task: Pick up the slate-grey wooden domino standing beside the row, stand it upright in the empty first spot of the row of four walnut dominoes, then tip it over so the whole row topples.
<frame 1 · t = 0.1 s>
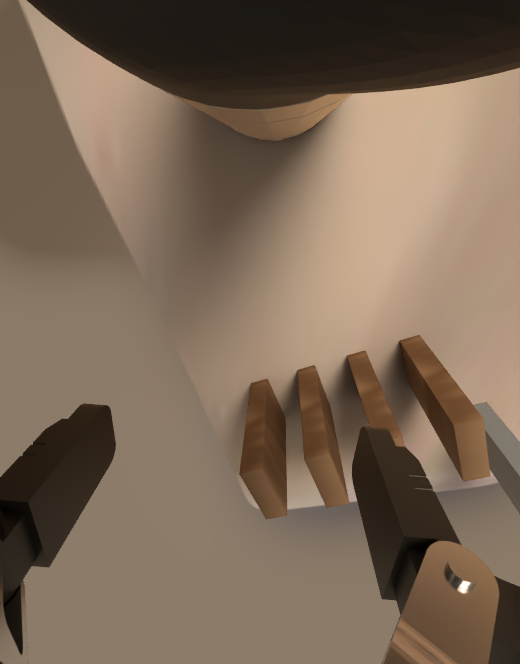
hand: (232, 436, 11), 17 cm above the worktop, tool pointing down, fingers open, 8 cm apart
domino 4: (314, 389, 31), on the worktop
domino 5: (268, 401, 32), on the worktop
domino 3: (362, 375, 30), on the worktop
domino 2: (414, 361, 29), on the worktop
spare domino: (479, 423, 32), on the worktop
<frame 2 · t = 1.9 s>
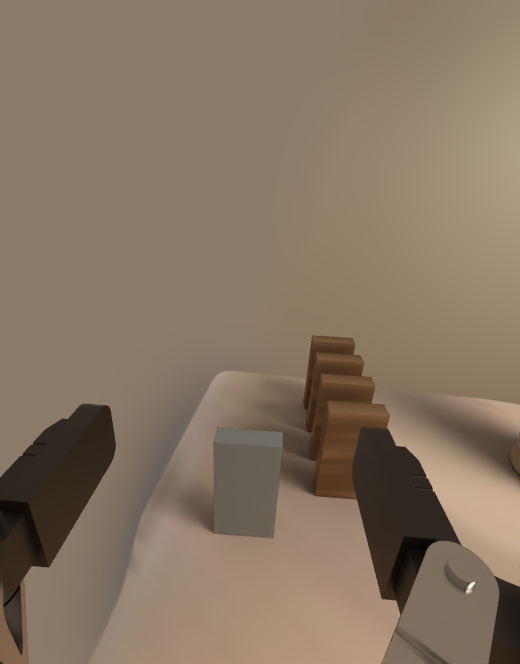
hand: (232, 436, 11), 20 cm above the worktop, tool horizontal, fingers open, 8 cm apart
domino 4: (327, 428, 41), on the worktop
domino 5: (322, 406, 45), on the worktop
domino 3: (332, 456, 37), on the worktop
domino 2: (339, 490, 33), on the worktop
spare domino: (244, 526, 29), on the worktop
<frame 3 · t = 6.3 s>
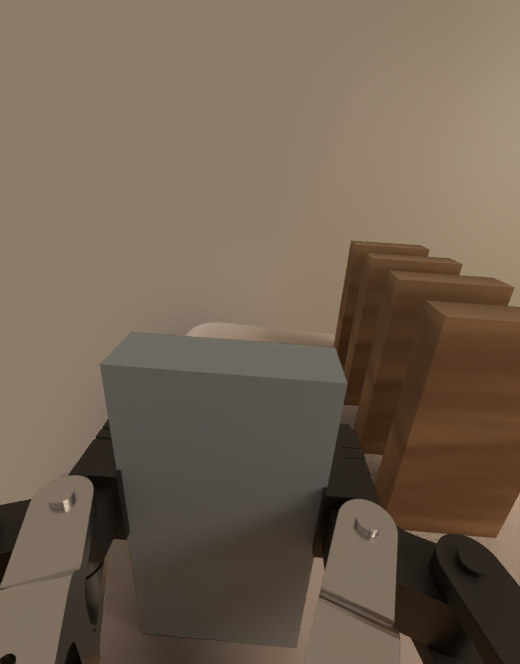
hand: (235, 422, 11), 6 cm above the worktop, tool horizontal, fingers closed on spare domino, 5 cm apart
domino 4: (377, 400, 24), on the worktop
domino 5: (362, 368, 28), on the worktop
domino 3: (398, 446, 20), on the worktop
domino 2: (430, 516, 15), on the worktop
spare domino: (222, 611, 12), on the worktop, touching gripper
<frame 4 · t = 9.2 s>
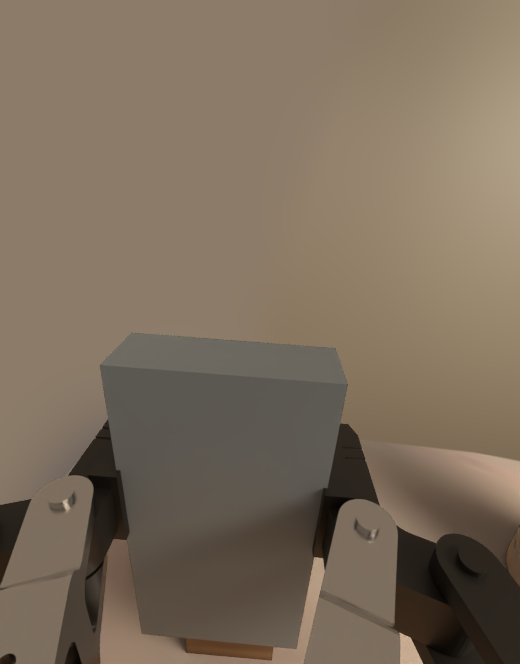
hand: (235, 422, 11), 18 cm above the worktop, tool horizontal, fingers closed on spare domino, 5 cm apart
domino 2: (230, 639, 20), on the worktop
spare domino: (222, 612, 12), point 12 cm above the worktop, touching gripper
when the fingers open (7 cm above the worktop, at t = 12.3 s): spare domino stays where it is, on the worktop.
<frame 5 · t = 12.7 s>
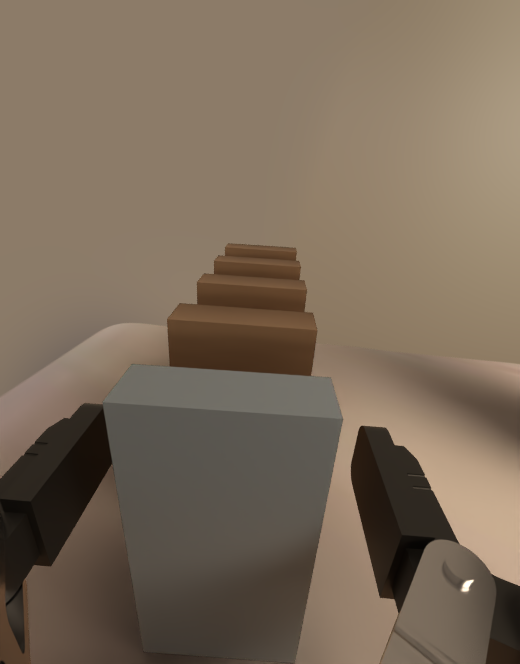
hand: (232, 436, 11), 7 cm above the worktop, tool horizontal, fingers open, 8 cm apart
domino 4: (250, 399, 24), on the worktop
domino 5: (254, 368, 28), on the worktop
domino 3: (244, 444, 20), on the worktop
domino 2: (236, 511, 16), on the worktop
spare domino: (222, 628, 12), on the worktop
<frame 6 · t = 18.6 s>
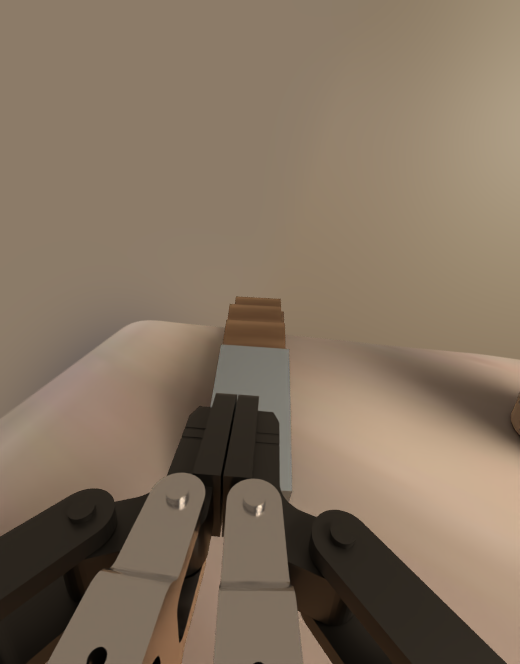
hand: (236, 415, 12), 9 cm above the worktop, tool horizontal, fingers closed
domino 4: (254, 366, 31), point 1 cm above the worktop, tilted 75°, touching domino 3
domino 3: (250, 396, 26), point 1 cm above the worktop, tilted 70°, touching domino 2, domino 4
domino 2: (248, 433, 22), point 1 cm above the worktop, tilted 69°, touching domino 3, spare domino
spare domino: (244, 493, 18), point 1 cm above the worktop, tilted 69°, touching domino 2
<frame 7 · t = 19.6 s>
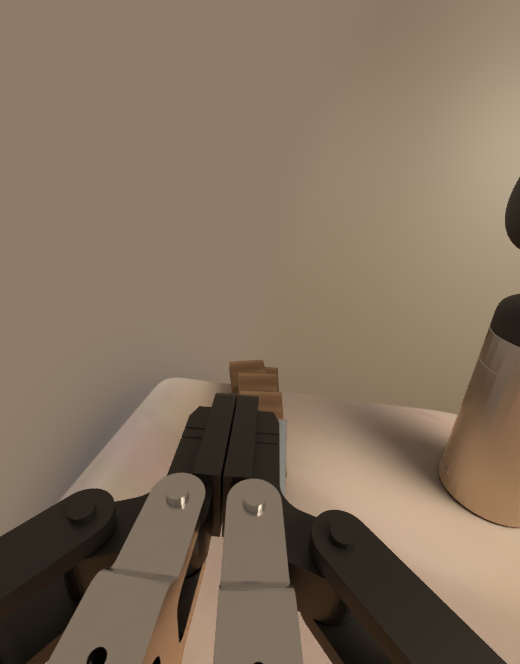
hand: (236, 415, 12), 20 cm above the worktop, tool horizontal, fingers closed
domino 4: (256, 417, 43), point 1 cm above the worktop, tilted 77°
domino 3: (258, 446, 38), point 1 cm above the worktop, tilted 69°, touching domino 2
domino 2: (261, 477, 34), point 1 cm above the worktop, tilted 69°, touching domino 3
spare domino: (255, 522, 29), point 1 cm above the worktop, tilted 70°
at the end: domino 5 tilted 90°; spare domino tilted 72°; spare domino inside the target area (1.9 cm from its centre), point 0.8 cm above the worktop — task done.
